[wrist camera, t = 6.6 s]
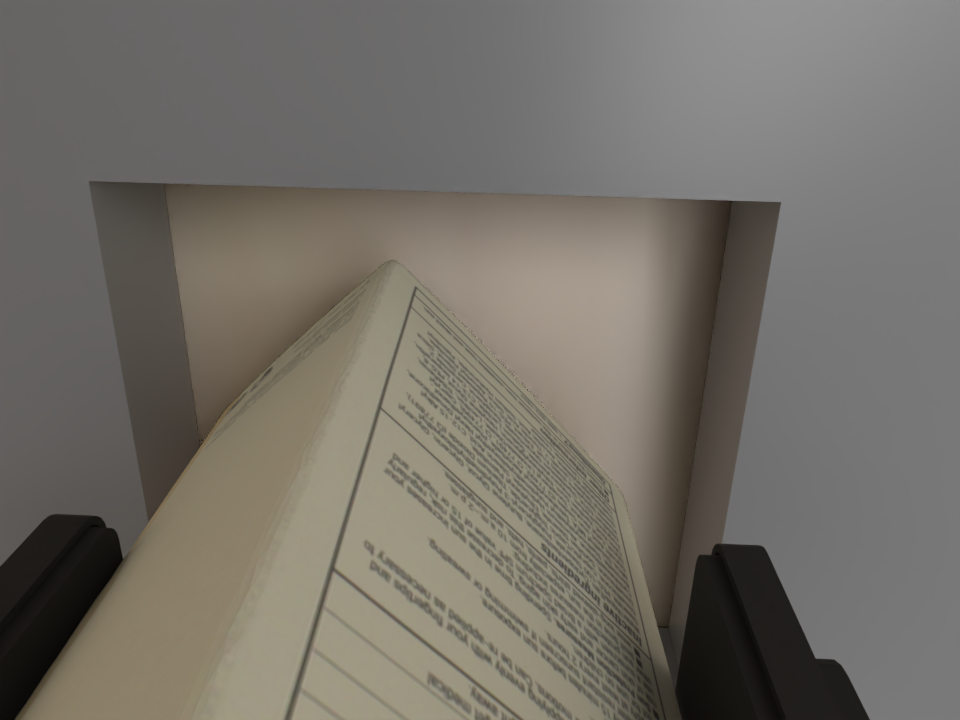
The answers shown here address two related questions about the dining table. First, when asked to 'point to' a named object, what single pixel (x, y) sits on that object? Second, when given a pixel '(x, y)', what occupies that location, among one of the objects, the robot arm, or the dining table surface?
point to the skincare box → (376, 550)
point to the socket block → (536, 171)
